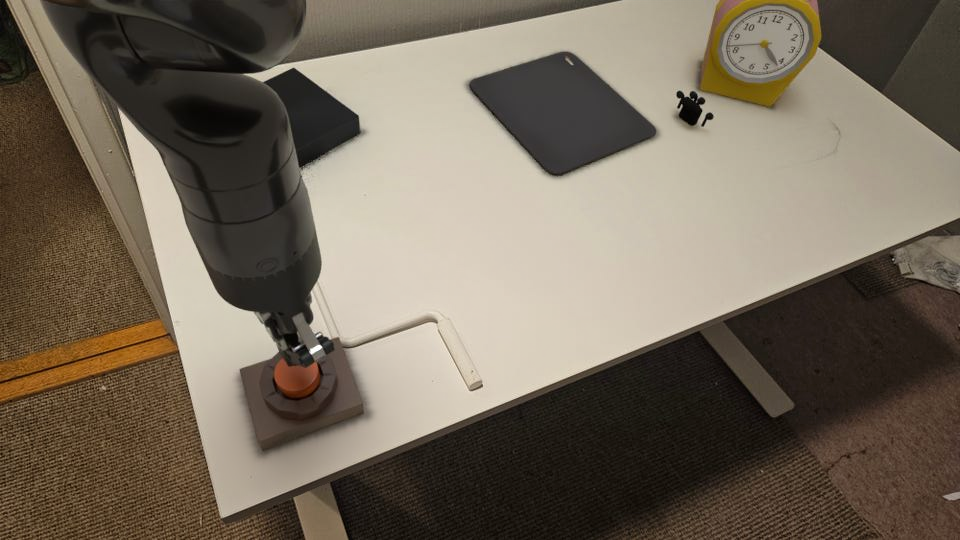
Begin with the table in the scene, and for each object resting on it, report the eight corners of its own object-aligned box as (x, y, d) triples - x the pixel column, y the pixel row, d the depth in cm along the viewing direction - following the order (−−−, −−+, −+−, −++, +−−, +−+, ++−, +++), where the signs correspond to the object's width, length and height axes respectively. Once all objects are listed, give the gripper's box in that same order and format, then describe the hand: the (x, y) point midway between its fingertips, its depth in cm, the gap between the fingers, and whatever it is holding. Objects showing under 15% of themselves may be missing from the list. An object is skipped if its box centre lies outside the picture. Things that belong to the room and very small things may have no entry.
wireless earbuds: (707, 132, 92) (720, 105, 88) (696, 138, 91) (710, 111, 87) (672, 107, 95) (684, 80, 91) (662, 112, 94) (673, 85, 90)
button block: (262, 450, 57) (253, 434, 54) (243, 378, 62) (235, 360, 58) (364, 412, 61) (362, 395, 57) (340, 346, 65) (337, 327, 62)
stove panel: (246, 212, 74) (240, 194, 72) (173, 145, 80) (165, 126, 77) (369, 139, 84) (368, 121, 82) (296, 84, 90) (293, 66, 87)
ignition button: (282, 405, 57) (279, 397, 55) (272, 369, 59) (269, 360, 57) (325, 390, 58) (323, 382, 56) (313, 355, 60) (311, 346, 58)
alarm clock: (689, 89, 98) (738, -22, 84) (692, 61, 103) (739, -49, 89) (781, 112, 97) (848, 4, 82) (779, 82, 102) (842, -25, 87)
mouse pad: (660, 134, 91) (661, 132, 91) (552, 178, 83) (553, 176, 83) (568, 50, 101) (568, 49, 101) (465, 82, 93) (465, 81, 93)
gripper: (359, 268, 39) (373, 387, 53) (260, 149, 44) (296, 285, 58) (249, 328, 36) (295, 438, 49) (157, 191, 41) (221, 325, 55)
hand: (295, 355), depth 54 cm, fingers closed
